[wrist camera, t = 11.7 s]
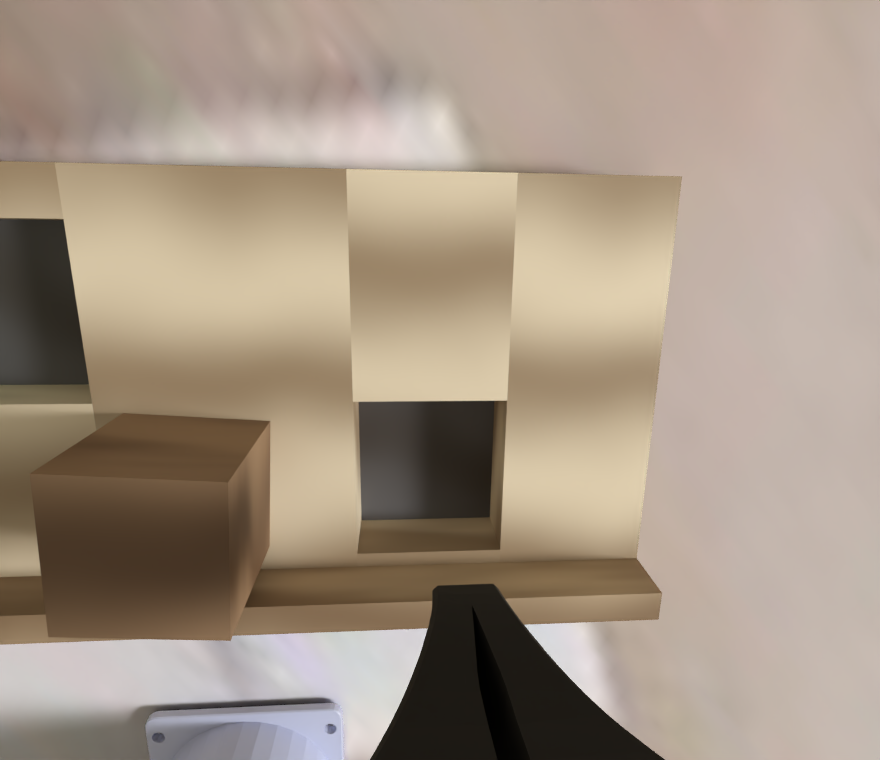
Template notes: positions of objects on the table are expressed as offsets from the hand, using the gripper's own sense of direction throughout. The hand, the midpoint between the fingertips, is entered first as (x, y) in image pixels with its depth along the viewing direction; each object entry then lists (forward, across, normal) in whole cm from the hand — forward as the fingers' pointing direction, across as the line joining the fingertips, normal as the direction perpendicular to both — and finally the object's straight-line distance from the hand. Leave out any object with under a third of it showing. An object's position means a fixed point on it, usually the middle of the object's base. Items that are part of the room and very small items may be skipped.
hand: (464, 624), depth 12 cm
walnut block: (+7, +8, 0) cm, 10 cm away
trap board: (+9, +8, -3) cm, 13 cm away
